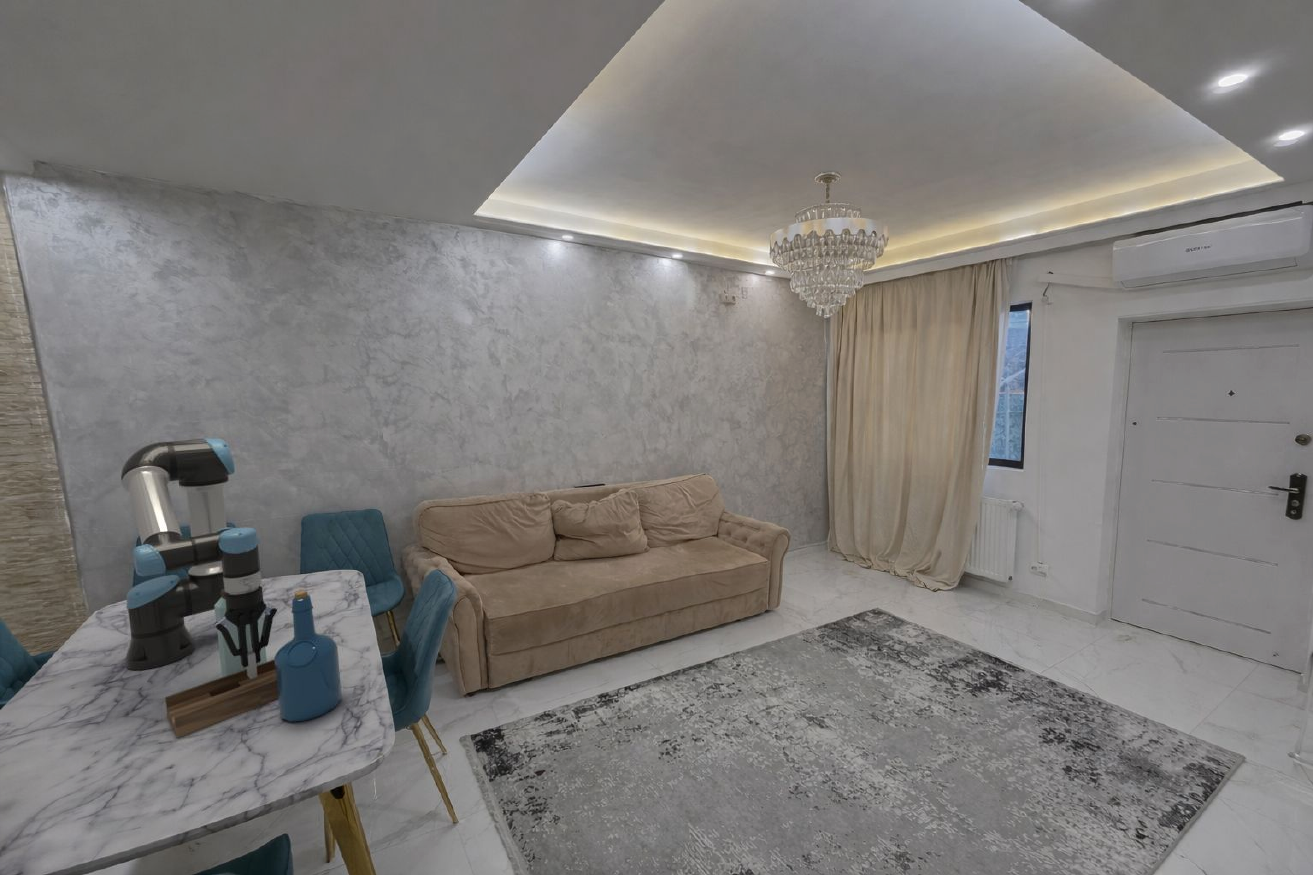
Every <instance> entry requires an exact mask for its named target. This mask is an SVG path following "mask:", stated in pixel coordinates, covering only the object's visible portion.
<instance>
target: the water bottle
mask: <svg viewBox="0 0 1313 875" xmlns="http://www.w3.org/2000/svg"><path fill="white" fill-rule="evenodd" d="M226 593H227V592H225V591H224V589H223V590H221V598H220V599H219V601H218V602H217V603H216V604H215V605H214V607H215V609H214V614H215V622H219V621H220V620H222V619H223V618H224V617H225V616H224V615H225V613H226V600H225V594H226ZM263 623H264V619H263V614H262V615H261V617H260V618H259V620H258V633H259V642H260V639H261V634H262V629H263ZM227 624H228V627H227V629H228V631H229V633H230V635H231V637H232V639H233V641H234V644H235V646H236V648H237V649H239V641H238V631H237V626H236V625H234V624H233V623H231V622H230V621H228V622H227ZM216 632H217V640H218V642H217V643H218V649H219V651H218V652H219V660H220V667H221V668H220V670H221V675H222V677H225V676H228V675H231V674H234V673H236V672H239V671H242V670H245V669H247V667H243V666H242V665H241V656H233V655H232V654H231V652H230V650H229V648H228V646H227V644H226V641H225V639H224V637H223V635H222V633H221V631H219V630H218V629H217V628H216ZM246 639H247V649H248V651H250V650H253V649H252V644H251V634H250V625H249V624H248V625H246ZM260 658H261V661H260V662H259V663H256V666H257V665H260V664H262V663H265V662H268V660H267V651H266V647H263V648H261V651H260Z"/></svg>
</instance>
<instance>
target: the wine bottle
mask: <svg viewBox="0 0 1313 875" xmlns="http://www.w3.org/2000/svg"><path fill="white" fill-rule="evenodd" d="M291 600H292V601H291V614H292V619H293V621H292V622H293V638H292V639H291V640H288V641H287V642H286V643H285V644H283V646H282V647H280V648H279V649H278V651H277V652H276V653H275V656H274V659H275V671H276V681H277V691H278V699H277V700H278V708H279V709H278V710H279V716H280V718H281V719H282V720H285V721H287V722H290V723H292V722H303V721H304V722H305V721H309V720H311V719H314V718H317V717H320V716H323V715H324V714H326V713H327V712H330V711H331V710H333V709H334V708H335V707H336V706H337V705H338V703H340V700H341V699H342V686H341V673H340V663H339V662H340V661H339V650H338V646H337V642H336V640H335V639H334V638H333V637H332V636H330V635H327V634H324V633H317V632H316V629H315V622H314V614H313V609H314V606H313V602H312V598H311V596H310V594H308V591H307V590H299V591H296V592H295V593H294V597H293V598H292V599H291ZM274 659H273V660H274Z"/></svg>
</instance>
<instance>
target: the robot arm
mask: <svg viewBox="0 0 1313 875" xmlns="http://www.w3.org/2000/svg"><path fill="white" fill-rule="evenodd" d="M234 474H235V463H234V460H233V456H232V452H231V450H230V447H229V445H228V443H227V442H226V441H225V440H224V439H221V438H196V439H185V440H175V441H159V442H158V441H157V442H153V443H150V444H147V445H145V446H144V447H141V448H140V449H138V450H137V451H135V452H134V453H133V454H132V455H131V456H130V457H128V459H127V460H126V462H125V463H124V465H123V466H122V469H121V474H120V477H121V479H120V480H121V484H122V487H123V488H124V490H125V491H128V493H129V496H130V500H131V503H132V508H133V512H134V516H135V520H136V525H137V529H138V533H139V538H140V543H141V545H138V546H136V547H134V548H133V550H132V556H133V563H134V569H135V572H136V575H138V576H140V577H147V576H148V577H149V576H153V575H154V576H155V575H163V574H165V573H170V572H173V571H174V572H175V571H179V570H183V569H188V568H189V570H187V572H188V573H187V574H188V577H187V576H186V577H184V578H180V577H179V576H178V575H177V574H169V575H164V576H158V577H155V578H152V579H149V580H146V581H144V582H141V583H139V584H137V585H134V586H133V587H131V588H130V589H129V591H128V592H127V594H126V606H125V607H126V609H127V611H128V622H129V628H130V629H129V630H130V637H131V639H130V643H129V647H128V650H127V654H126V656H125V666H126V668H127V669H128V670H131V671H143V670H149V669H155V668H160V667H163V666H166V665H169V664H172V663H176V662H178V661H179V660H182V659H184V658H185V657H188V656H189V655H190V654H192V653H193V652H194V651H195V649H196V647H195V646H196V645H195V641H194V640H195V639H194V638H193V637H192V635H191V634H190V632H189V631H188V629H187V626H186V624H185V618H187V617H190V616H195V615H197V614H198V615H199V614H203V613H207V612H209V611H215V607H214V605H215V604H216V603H217V602H218V601H219V599H220V598H221V590H223V589H224V591H225V592H227V593H226V594H225V600H226V613H225V615H224V616H225V617H224V618H223V619H222V620H220V621H219V622H216V621H215V622H214V624H213V626H214V627H215V628H216V630H217V629H218V630H219V631H221V633H222V635H223V637H224V639H225V641H226V644H227V646H228V648H229V650H230V652H231V654H232V655H233V656H241V665H242V666H243V667H247V675H248V677H249V678H250V679H253V678H255V677H257V667H256V663H259V662H260V661H261V658H260V651H261V648H263V647H265V648H266V647H268V646H269V642H270V635H271V632H272V626H273V621H274V617H275V616H276V614H277V612H278V609H277V608H276V607H275V606H274V605H273V606H268V605H267V604H266V602H265V601H264V593H263V592H264V591H263V586H261V585H262V584H263V582H262V574H261V566H260V563H261V562H260V553H259V552H260V551H259V539H258V534H257V531H256V529H255V528H253V527H248V526H245V527H242V526H241V527H229V526H228V525H227V518H226V517H227V516H226V506H225V505H226V504H225V495H224V486H225V485H226V484H227V483H228V482H229V480H230V479H229V476H232V475H234ZM176 481H178V486H179V487H180V488H182V489H183V490H185V491H186V498H187V499H186V500H187V509H188V519H189V520H188V521H189V527H190V528H189V530H190V536H189V537H183V534H182V532H181V527H180V525H179V521H178V517H177V514H176V512H175V507H174V504H173V501H172V497H171V495H170V491H169V487H168V485H169V483H170V482H176ZM263 614H264V615H265V616H264V619H263V629H262V634H261V639H260V642H259V633H258V620H259V618H260V617H261V615H262V616H263ZM228 621H230V622H231V623H233V624H234V625H236V626H237V631H238V641H239V649H237V648H236V646H235V644H234V641H233V639H232V637H231V635H230V633H229V631H228V629H227V627H228V624H227V622H228ZM248 624H249V625H250V634H251V644H252V649H253V650H250V651H248V649H247V639H246V625H248Z"/></svg>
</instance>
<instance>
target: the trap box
mask: <svg viewBox="0 0 1313 875" xmlns="http://www.w3.org/2000/svg"><path fill="white" fill-rule="evenodd" d="M256 667H257V677H255V678H253V679H250V678H249V677H248V675H247V669H245V670H242V671H239V672H236V673H234V674H231V675H228V676H225V677H224V676H222V677H220V678H216V679H214V680H211V681H209V682H205V683H202V684H200V685H196V686H194V687H191V688H188V689H185V690H182V691H179V692H176V693H173V694H170V695H167V696H165V697H164V699H165V708H166V713H167V714H166V715H167V719H168V721H169V723H170V725H171V727H172V729H173V732H174V735H175V736H176V738H177V739H180V738H182V737H184V736H187V735H191V734H192V733H196V732H197V731H200V730H202V729H205V728H208V727H210V726H213V725H215V724H218V723H220V722H222V721H225V720H228V719H230V718H233V717H235V716H237V715H240V714H243V713H245V712H248V711H251V710H253V709H256V708H258V707H261V706H263V705H266V704H268V703H271V702H273V701H276V700H278V691H277V681H276V671H275V659H271V660H269V661H268V660H267V662H265V663H262V664H260V665H257V666H256Z"/></svg>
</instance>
